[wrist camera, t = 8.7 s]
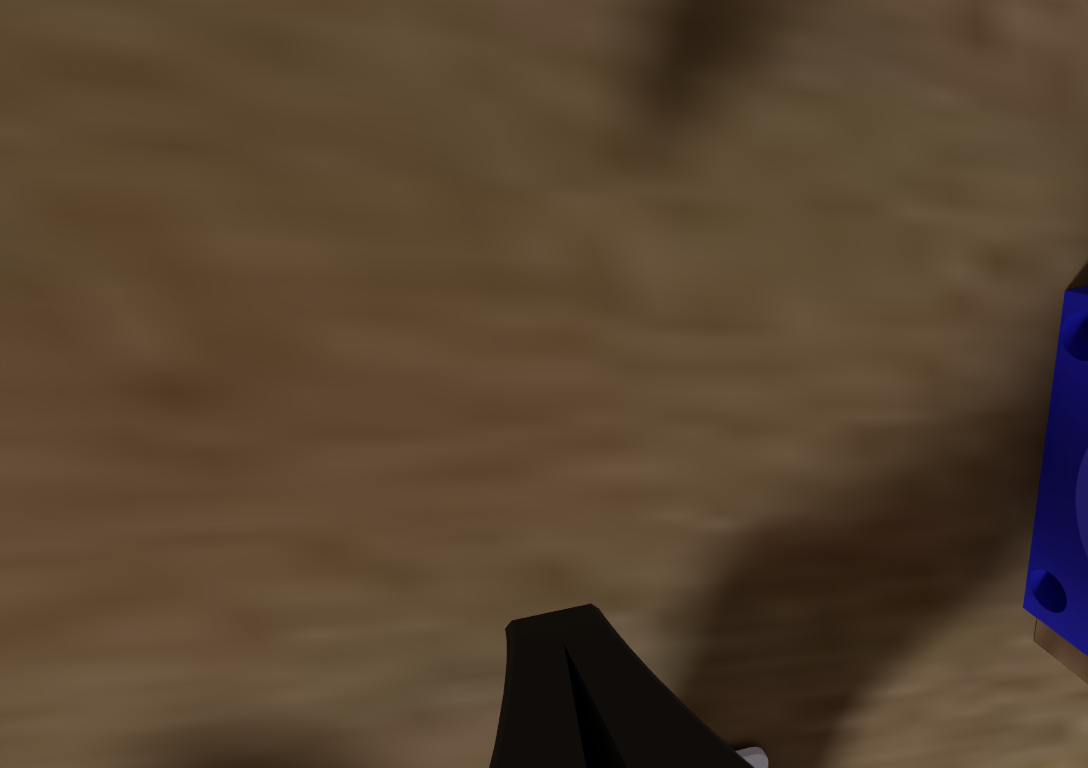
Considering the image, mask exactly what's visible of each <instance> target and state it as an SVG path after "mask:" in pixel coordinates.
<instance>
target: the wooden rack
mask: <svg viewBox="0 0 1088 768" xmlns="http://www.w3.org/2000/svg"><path fill="white" fill-rule="evenodd" d="M1034 642H1036V643H1037V644H1038V645H1039V646H1041V647H1042V648H1043V649H1045V650H1046V651H1047V652H1048V653H1050V654H1051V655H1052V656H1053V657H1055V658H1056V659H1057V660H1058V661H1060V662H1061V663H1062V664H1063V665H1065V666H1066V667H1067V668H1068V669H1070V670H1071V671H1072V672H1073V673H1075V674H1076V675H1077V676H1078V677H1080V678H1081V679H1082V680H1083V681H1085V682H1086V683H1087V684H1088V656H1087V655H1085V654H1084V653H1083V652H1081V651H1080V650H1079V649H1077V648H1076V647H1075V646H1073V645H1072V644H1071V643H1069V642H1068V641H1067V640H1065V639H1064V638H1063V637H1061V636H1060V635H1059V634H1057V633H1056V632H1055V631H1053V630H1052V629H1051V628H1049V627H1048V626H1047V625H1045V624H1044V623H1043V622H1041V621H1040V620H1039V619H1037V625H1036V631H1035V637H1034Z"/></svg>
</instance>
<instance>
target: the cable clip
mask: <svg viewBox="0 0 1088 768" xmlns="http://www.w3.org/2000/svg"><path fill="white" fill-rule="evenodd" d="M1023 608H1024V609H1026V610H1027V611H1028V612H1030V613H1031V614H1032V615H1034V616H1035V617H1036V618H1038V619H1039V620H1040V621H1041V622H1043V623H1044V624H1045V625H1047V626H1048V627H1049V628H1051V629H1052V630H1053V631H1055V632H1056V633H1057V634H1059V635H1060V636H1061V637H1063V638H1064V639H1065V640H1067V641H1068V642H1069V643H1071V644H1072V645H1073V646H1075V647H1076V648H1077V649H1079V650H1080V651H1081V652H1083V653H1084V654H1085V655H1087V656H1088V286H1085V287H1080V288H1075V289H1069V290H1065V295H1064V303H1063V310H1062V318H1061V325H1060V333H1059V340H1058V348H1057V355H1056V363H1055V370H1054V378H1053V385H1052V393H1051V401H1050V408H1049V416H1048V423H1047V431H1046V438H1045V446H1044V453H1043V461H1042V468H1041V476H1040V483H1039V491H1038V499H1037V506H1036V514H1035V521H1034V529H1033V536H1032V544H1031V551H1030V559H1029V566H1028V574H1027V581H1026V589H1025V597H1024V604H1023Z"/></svg>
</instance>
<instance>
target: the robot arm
mask: <svg viewBox="0 0 1088 768" xmlns="http://www.w3.org/2000/svg"><path fill="white" fill-rule="evenodd" d="M505 631H506V638H507V663H506V675H505V685H504V694H503V700H502V706H501V712H500V718H499V724H498V730H497V736H496V741H495V746H494V750H493V754H492V759H491V763H490V767H489V768H768V758H767V756H766V754H765V753H764V751H763V750H762V749H761V748H759V747H749V748H745V749H741V750H737V751H734V750H733V749H732V748H731V747H730V746H729V745H727V744H726V743H725V742H724V741H723V740H722V739H721V738H720V737H719V736H717V735H716V734H715V733H714V732H713V731H712V730H711V729H710V728H709V727H707V726H706V725H705V724H704V723H703V722H702V721H701V720H700V719H699V718H698V717H697V716H696V715H695V714H693V713H692V712H691V711H690V710H689V709H688V708H687V707H686V706H685V705H684V704H683V703H682V702H681V701H680V700H679V699H678V698H677V697H676V696H675V695H674V694H673V693H672V692H671V691H670V690H669V689H668V688H667V687H666V686H665V685H664V684H663V683H662V682H661V681H660V680H659V679H658V678H657V677H656V676H655V675H654V674H653V672H652V671H651V670H650V669H649V668H648V667H647V666H646V665H645V664H644V663H643V662H642V661H641V659H640V658H639V657H638V656H637V655H636V654H635V653H634V652H633V650H632V649H631V648H630V647H629V646H628V645H627V644H626V642H625V641H624V640H623V639H622V638H621V637H620V635H619V634H618V633H617V632H616V630H615V629H614V628H613V627H612V626H611V624H610V623H609V622H608V620H607V619H606V618H605V616H604V615H603V614H602V612H601V611H600V610H599V608H597V607H596V606H594V605H593V604H587V605H582V606H578V607H573V608H568V609H564V610H559V611H554V612H549V613H545V614H540V615H535V616H531V617H526V618H521V619H517V620H512V621H511V622H510V623H509V624H508V626H507V627H506V628H505Z"/></svg>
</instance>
